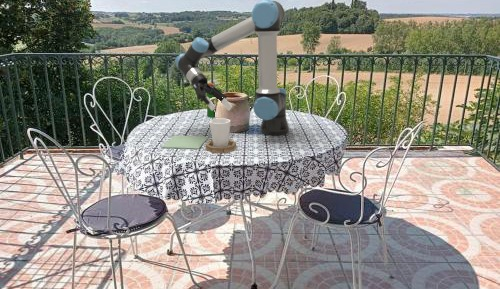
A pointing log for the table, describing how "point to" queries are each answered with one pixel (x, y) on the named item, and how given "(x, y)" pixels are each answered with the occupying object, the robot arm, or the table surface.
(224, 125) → the foam cup
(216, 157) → the table surface
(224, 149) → the collar
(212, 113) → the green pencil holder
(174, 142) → the mat
